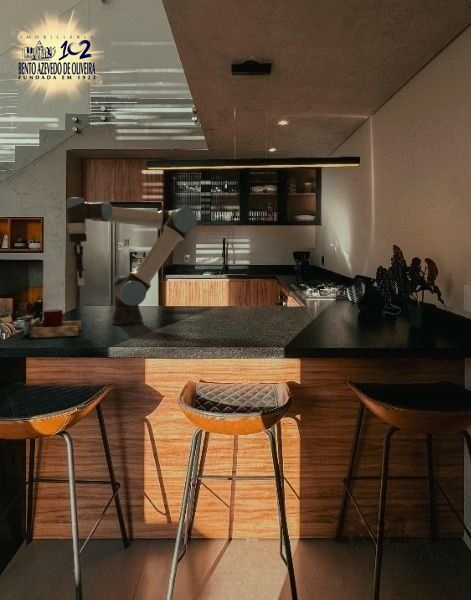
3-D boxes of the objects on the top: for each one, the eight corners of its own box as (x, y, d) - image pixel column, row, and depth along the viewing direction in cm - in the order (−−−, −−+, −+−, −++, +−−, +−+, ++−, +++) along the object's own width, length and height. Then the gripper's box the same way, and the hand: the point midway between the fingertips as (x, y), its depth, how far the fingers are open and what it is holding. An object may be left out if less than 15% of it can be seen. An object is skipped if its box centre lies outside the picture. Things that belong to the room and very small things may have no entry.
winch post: (34, 333, 219) (33, 315, 218) (33, 335, 215) (32, 317, 214) (24, 333, 218) (23, 316, 217) (22, 335, 214) (21, 317, 213)
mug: (54, 335, 213) (52, 312, 212) (37, 335, 215) (36, 312, 214) (67, 331, 224) (65, 309, 222) (51, 331, 225) (49, 309, 224)
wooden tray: (81, 329, 229) (80, 316, 228) (77, 335, 213) (77, 321, 212) (37, 331, 225) (36, 318, 224) (30, 337, 209) (29, 323, 208)
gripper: (69, 233, 226) (73, 284, 229) (68, 232, 214) (72, 286, 217) (86, 233, 228) (89, 283, 231) (86, 232, 216) (89, 285, 219)
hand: (81, 285), depth 224 cm, fingers closed
